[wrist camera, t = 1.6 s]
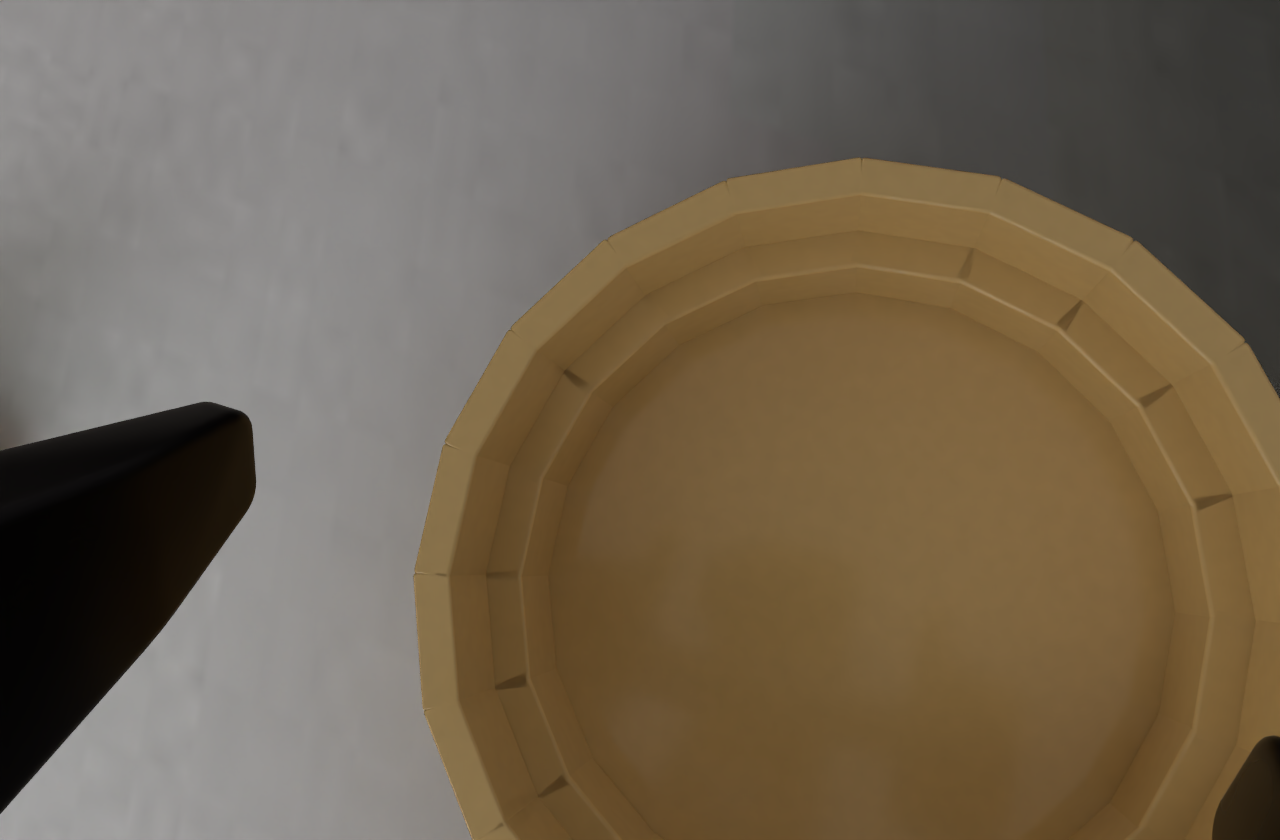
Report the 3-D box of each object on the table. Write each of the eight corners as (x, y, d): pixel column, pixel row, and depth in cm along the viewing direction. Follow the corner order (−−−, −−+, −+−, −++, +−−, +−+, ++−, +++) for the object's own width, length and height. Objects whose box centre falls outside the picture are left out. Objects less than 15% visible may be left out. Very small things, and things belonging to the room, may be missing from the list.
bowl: (1167, 1071, 21) (1268, 1223, 16) (430, 861, 24) (329, 936, 19) (1288, 304, 23) (1414, 232, 18) (578, 195, 26) (518, 108, 21)
